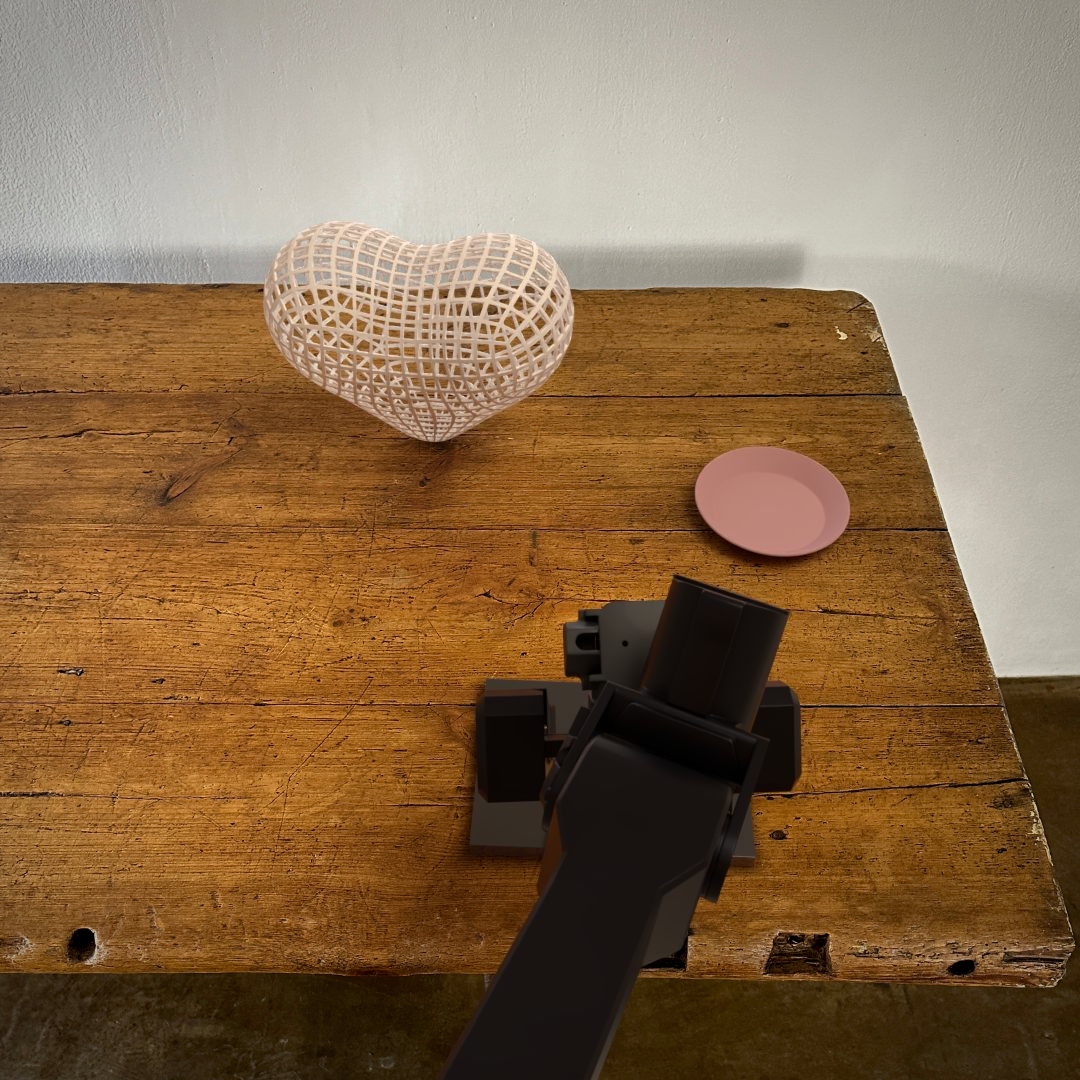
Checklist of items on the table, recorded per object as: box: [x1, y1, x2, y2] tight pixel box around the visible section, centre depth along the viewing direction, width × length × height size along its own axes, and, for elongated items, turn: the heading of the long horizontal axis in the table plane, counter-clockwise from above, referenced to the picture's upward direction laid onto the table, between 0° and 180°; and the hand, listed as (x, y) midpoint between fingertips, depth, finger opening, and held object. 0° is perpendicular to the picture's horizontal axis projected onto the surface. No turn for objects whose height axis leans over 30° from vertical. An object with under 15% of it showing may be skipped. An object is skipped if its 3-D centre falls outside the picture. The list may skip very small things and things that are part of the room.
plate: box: [694, 446, 851, 558], centre depth 91 cm, size 14×14×2 cm
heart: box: [262, 220, 575, 443], centre depth 91 cm, size 28×16×22 cm, turn 82°
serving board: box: [468, 677, 757, 867], centre depth 73 cm, size 14×20×2 cm
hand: (620, 710), depth 65 cm, fingers open, 9 cm apart
